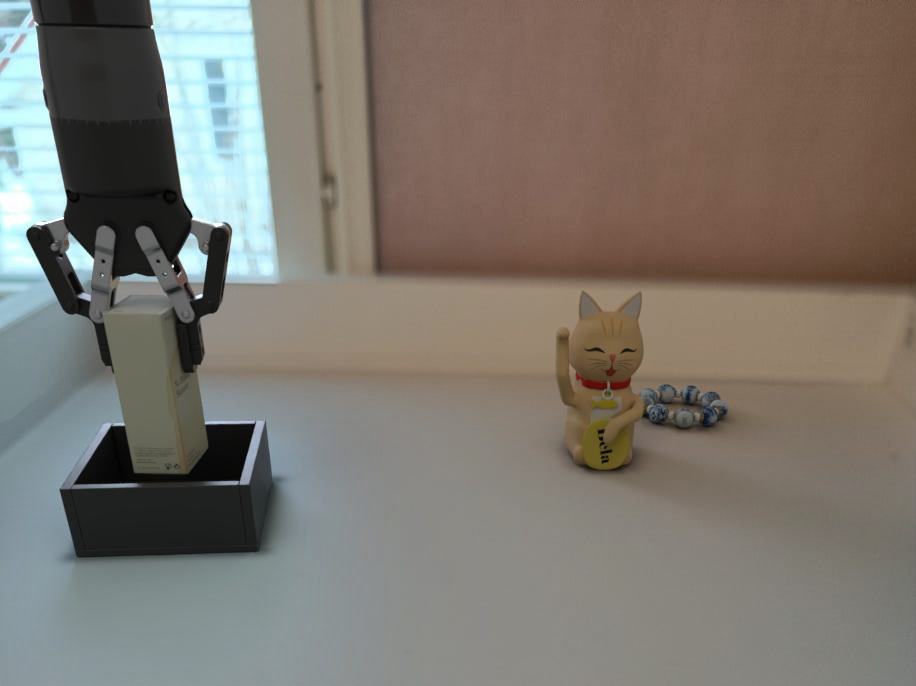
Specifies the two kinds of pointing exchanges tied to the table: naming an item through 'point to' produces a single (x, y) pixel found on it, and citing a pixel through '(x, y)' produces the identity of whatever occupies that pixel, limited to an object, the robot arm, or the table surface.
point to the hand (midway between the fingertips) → (155, 369)
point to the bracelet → (683, 416)
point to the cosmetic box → (155, 386)
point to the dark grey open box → (170, 496)
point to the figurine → (601, 382)
